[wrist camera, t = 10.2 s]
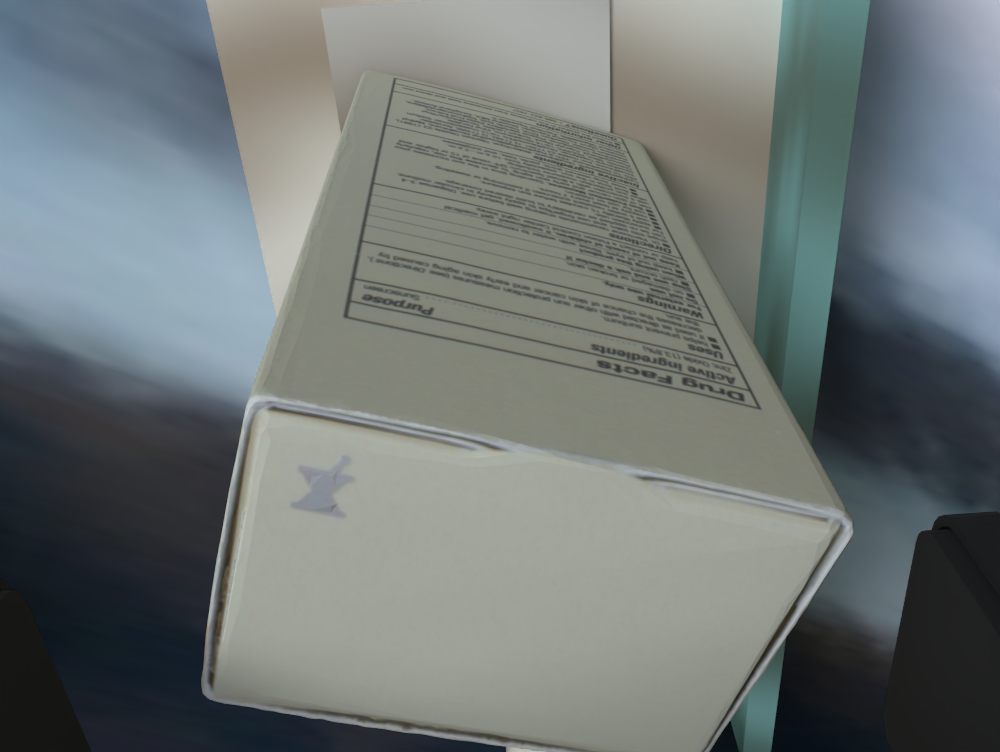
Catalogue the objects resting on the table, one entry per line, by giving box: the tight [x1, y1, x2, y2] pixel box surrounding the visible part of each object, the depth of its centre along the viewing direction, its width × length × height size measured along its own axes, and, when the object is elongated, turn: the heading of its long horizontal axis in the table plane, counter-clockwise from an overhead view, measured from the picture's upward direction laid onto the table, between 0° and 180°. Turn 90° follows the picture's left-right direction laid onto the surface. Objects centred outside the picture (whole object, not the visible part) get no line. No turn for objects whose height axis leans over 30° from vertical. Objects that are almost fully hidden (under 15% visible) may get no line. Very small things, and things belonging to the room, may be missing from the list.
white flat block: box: [206, 0, 870, 752], centre depth 23 cm, size 22×12×4 cm, turn 4°
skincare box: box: [201, 70, 854, 752], centre depth 15 cm, size 6×4×12 cm
